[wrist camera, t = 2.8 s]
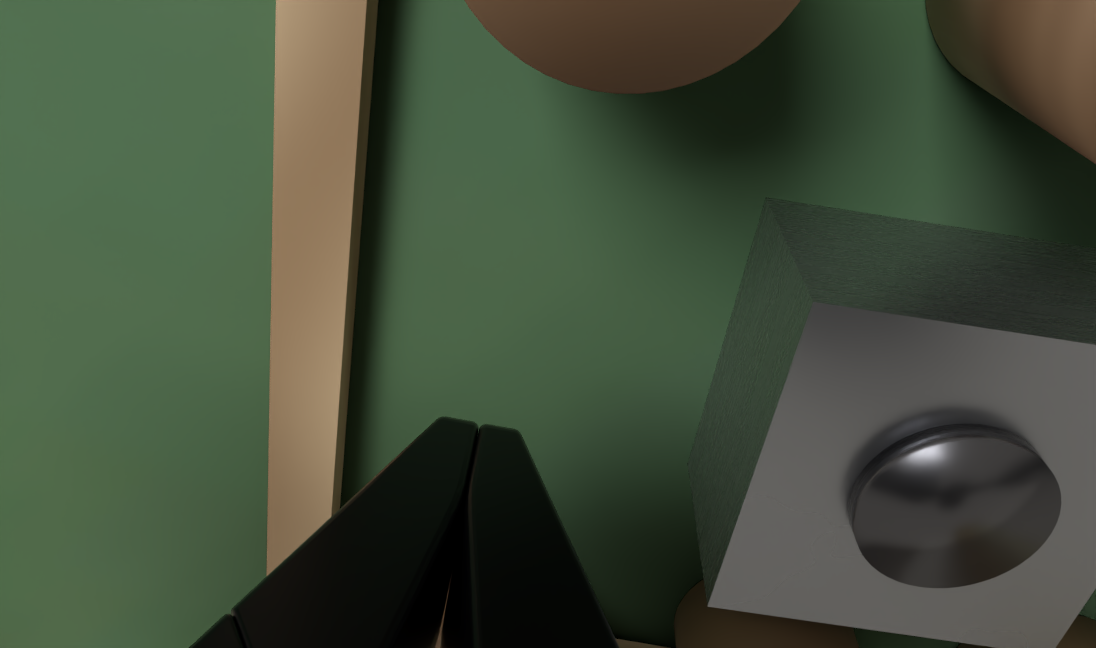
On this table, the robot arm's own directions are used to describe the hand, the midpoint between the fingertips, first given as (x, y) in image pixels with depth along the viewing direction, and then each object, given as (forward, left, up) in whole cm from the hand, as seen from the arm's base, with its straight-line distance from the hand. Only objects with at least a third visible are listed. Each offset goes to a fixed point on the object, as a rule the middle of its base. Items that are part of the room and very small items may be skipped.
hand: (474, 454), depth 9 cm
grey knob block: (-5, 0, -4) cm, 7 cm away
